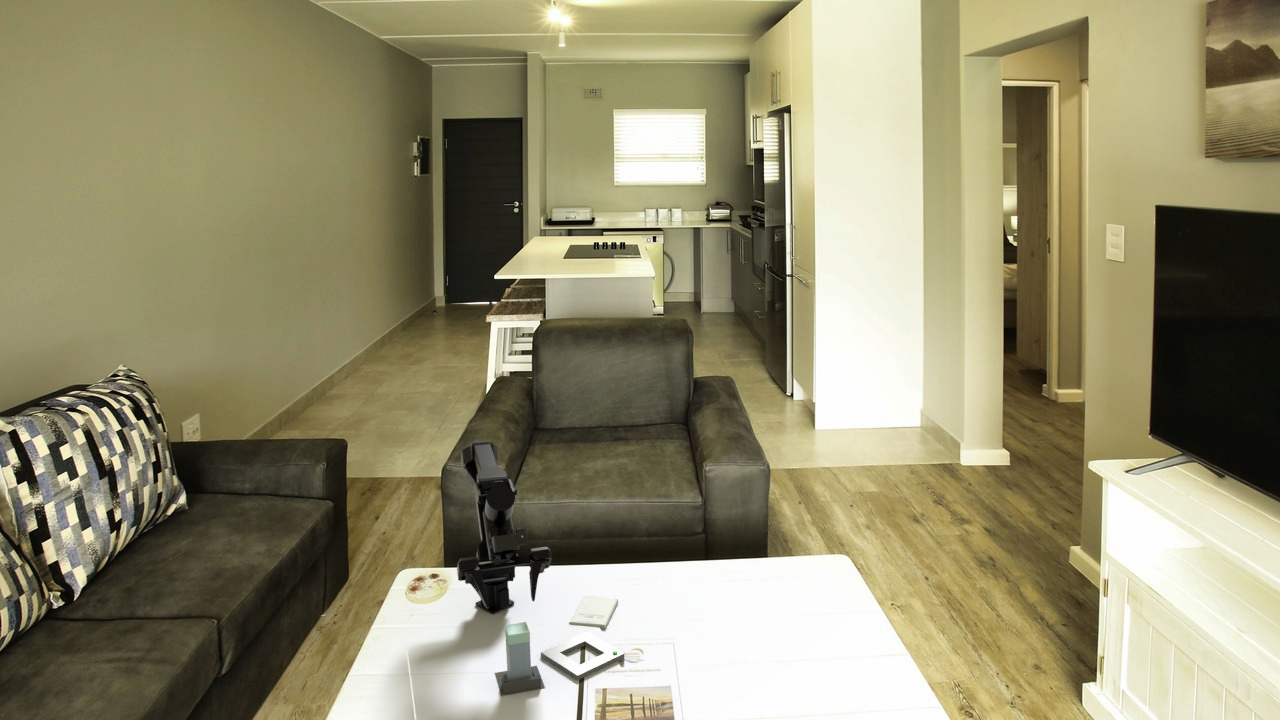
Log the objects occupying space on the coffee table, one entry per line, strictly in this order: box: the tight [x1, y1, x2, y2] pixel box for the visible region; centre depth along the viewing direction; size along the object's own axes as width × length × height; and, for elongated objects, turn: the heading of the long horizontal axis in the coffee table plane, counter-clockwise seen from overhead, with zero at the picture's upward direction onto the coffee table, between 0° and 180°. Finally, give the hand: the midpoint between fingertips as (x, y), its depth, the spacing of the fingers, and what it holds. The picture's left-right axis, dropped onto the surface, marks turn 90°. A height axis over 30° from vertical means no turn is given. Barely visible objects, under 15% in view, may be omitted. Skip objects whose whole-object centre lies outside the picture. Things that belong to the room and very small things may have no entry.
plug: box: [504, 621, 532, 681], centre depth 180 cm, size 4×4×11 cm
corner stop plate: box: [494, 665, 546, 697], centre depth 181 cm, size 8×8×2 cm
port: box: [540, 631, 625, 681], centre depth 189 cm, size 12×12×2 cm
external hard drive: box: [568, 595, 619, 630], centre depth 208 cm, size 2×8×12 cm
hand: (510, 604), depth 185 cm, fingers open, 9 cm apart
